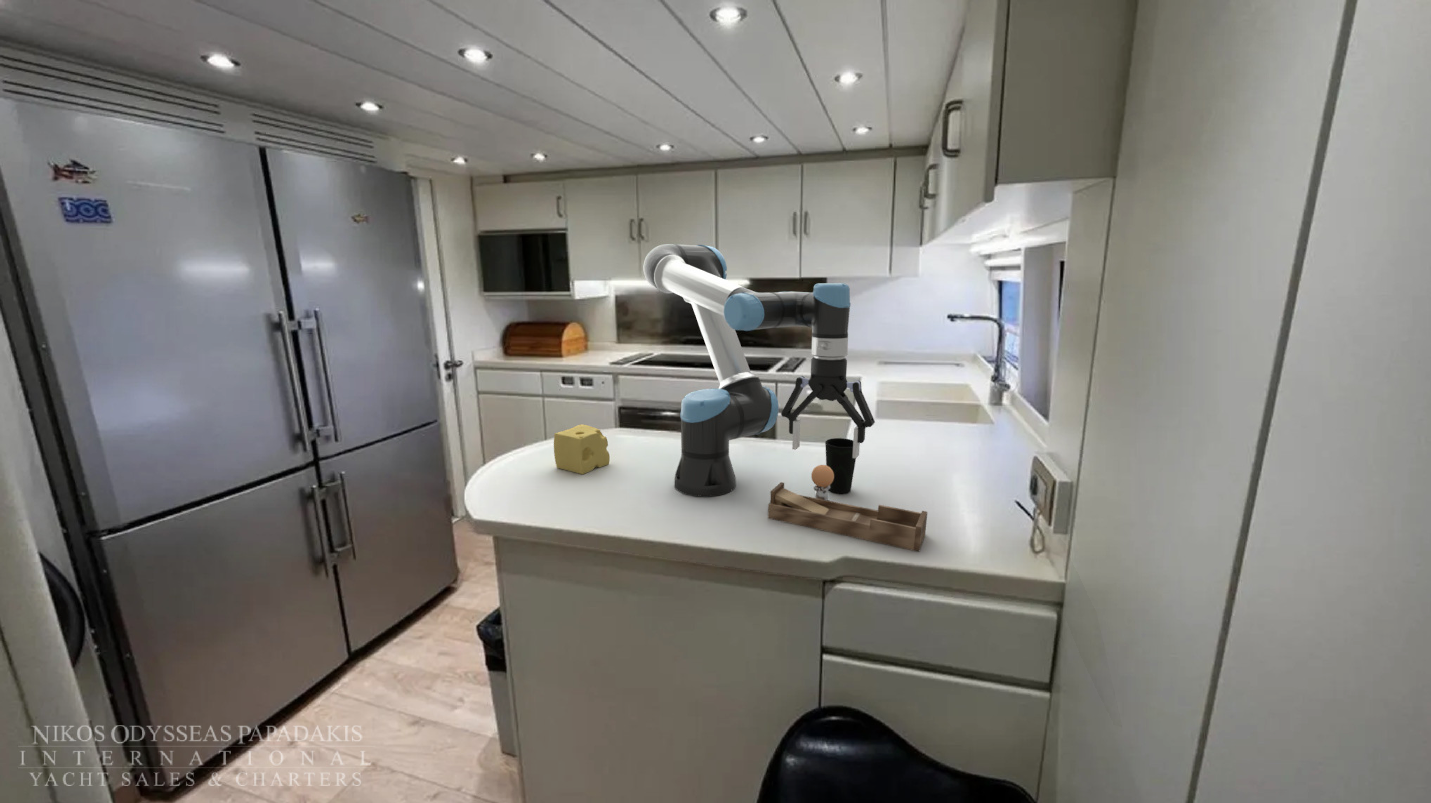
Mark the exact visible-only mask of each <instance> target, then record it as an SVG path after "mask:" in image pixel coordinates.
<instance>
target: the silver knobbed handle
mask: <svg viewBox="0 0 1431 803" xmlns="http://www.w3.org/2000/svg"><path fill="white" fill-rule="evenodd" d="M828 489H830V485H829V486H827V487H819V486H817V485H814V486H813V490H814V491H815V495H814V498H817V499H822V500H828V501H830V500H829V491H828Z"/></svg>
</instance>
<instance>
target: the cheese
mask: <svg viewBox="0 0 1431 803" xmlns="http://www.w3.org/2000/svg"><path fill="white" fill-rule="evenodd" d="M608 446H609V444H608V439H607V437H606V436H604V434H603V432H602V431H601V430H600V429H599V428H596V427H594V426H591V425H588V424H587V425H586V424H583V423H581V424H578V425H575V426H573V427H571V428H568V429H565V430H562V431H559V432H555V433H554V437H553V454H554V462H555V465H556V468H557V469H561V470H564V471H569V472H572V473H575V474H580V475H584V474H587V473H589V472H591V471H592V472H593V470H594V469H595V468H603V467H604V466H608V465H609V464H610V453H609V451H608V450H607V448H608Z"/></svg>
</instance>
